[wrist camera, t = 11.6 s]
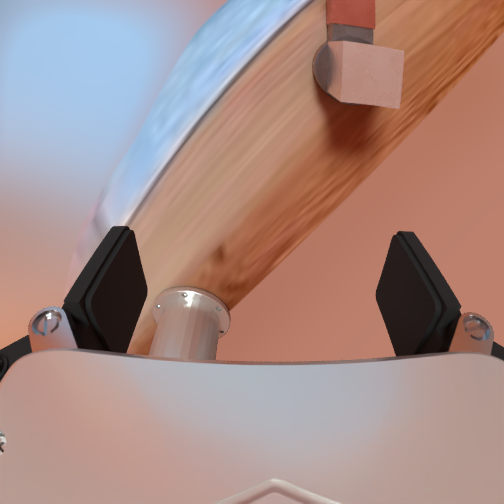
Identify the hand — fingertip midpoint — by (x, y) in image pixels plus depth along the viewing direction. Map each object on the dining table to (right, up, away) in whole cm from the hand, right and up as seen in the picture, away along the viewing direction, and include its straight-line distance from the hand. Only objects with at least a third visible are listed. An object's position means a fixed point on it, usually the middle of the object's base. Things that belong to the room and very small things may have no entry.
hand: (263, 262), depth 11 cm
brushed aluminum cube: (+9, +17, +14) cm, 24 cm away
